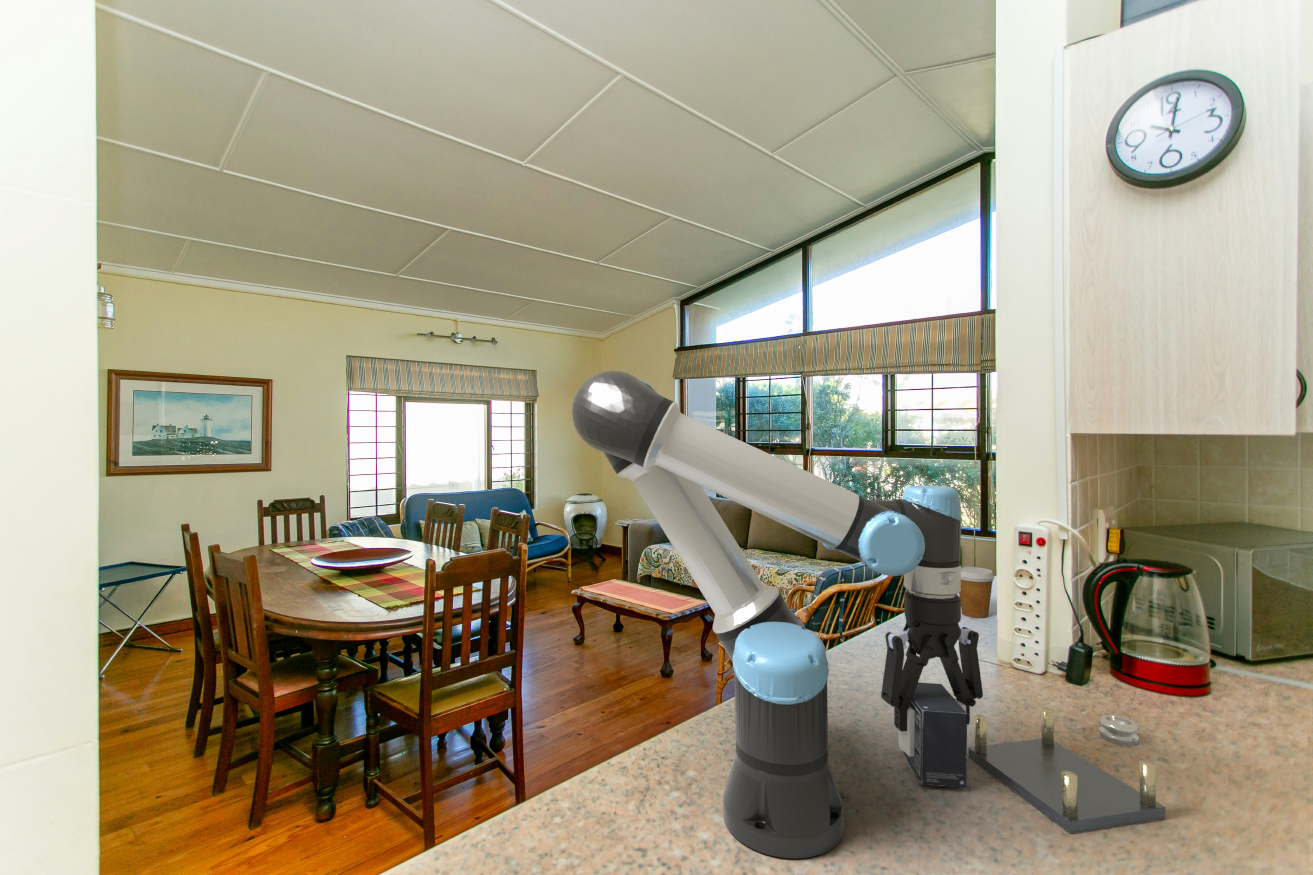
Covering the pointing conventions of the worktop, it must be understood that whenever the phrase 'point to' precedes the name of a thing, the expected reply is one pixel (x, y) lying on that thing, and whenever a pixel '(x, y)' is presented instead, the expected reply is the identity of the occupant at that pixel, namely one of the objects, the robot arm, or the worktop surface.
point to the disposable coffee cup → (975, 591)
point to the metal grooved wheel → (1118, 730)
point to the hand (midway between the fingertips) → (932, 748)
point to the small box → (938, 737)
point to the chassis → (1066, 781)
